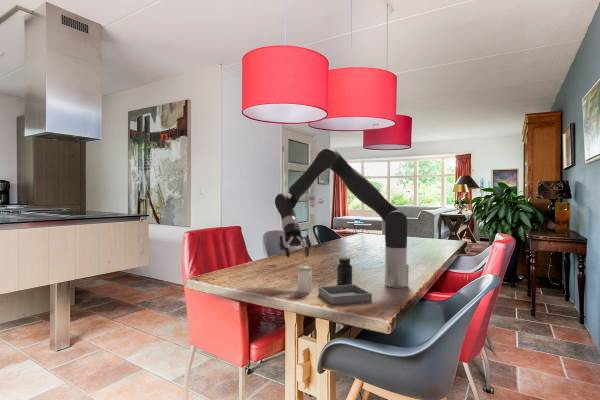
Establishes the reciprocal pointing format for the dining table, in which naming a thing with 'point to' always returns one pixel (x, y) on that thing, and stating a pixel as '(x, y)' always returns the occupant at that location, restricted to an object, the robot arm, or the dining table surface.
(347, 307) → the dining table surface
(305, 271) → the green capped canister
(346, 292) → the tray
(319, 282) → the dining table surface
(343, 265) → the supplement bottle
